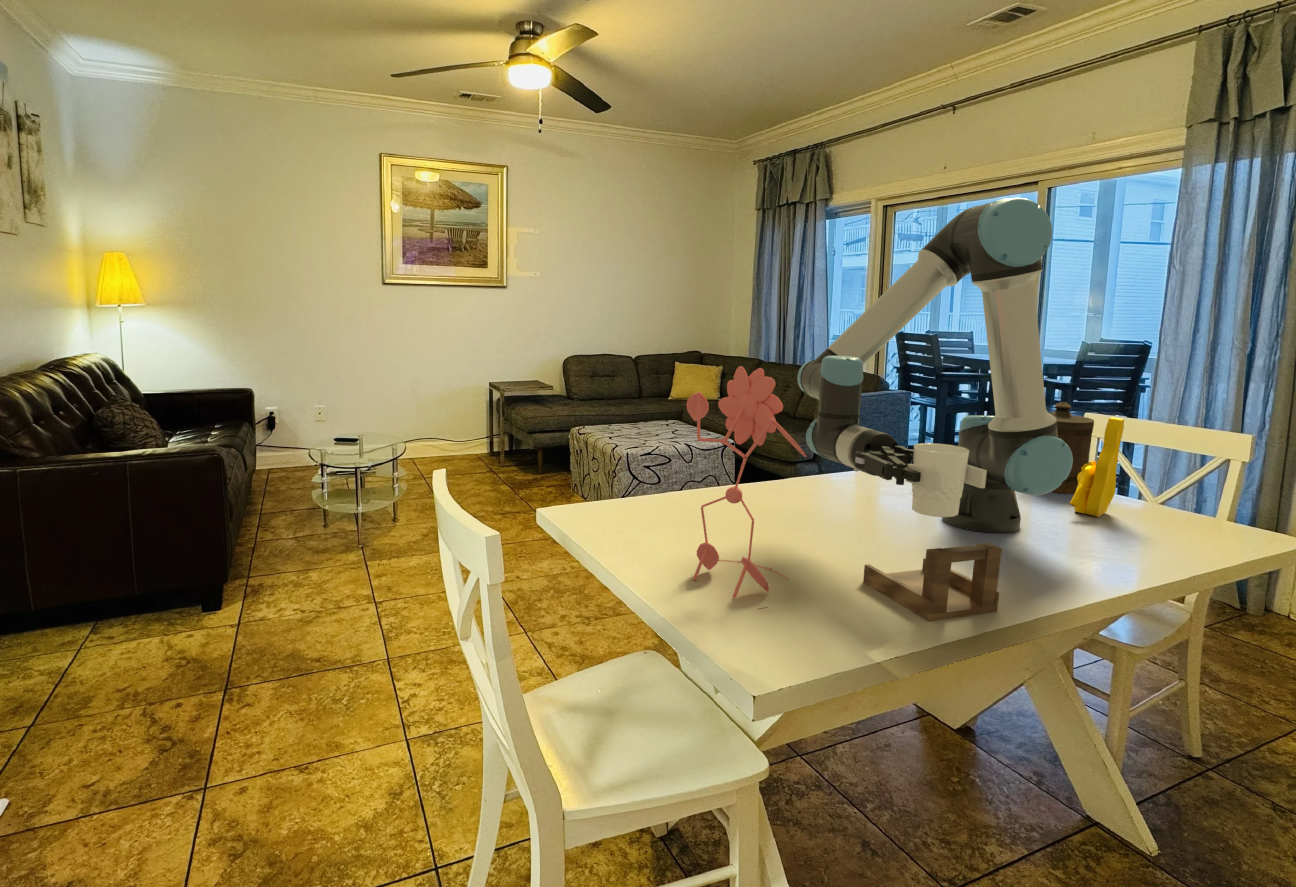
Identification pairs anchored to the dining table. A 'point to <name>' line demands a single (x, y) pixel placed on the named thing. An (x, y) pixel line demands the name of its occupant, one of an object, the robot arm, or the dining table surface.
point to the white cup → (953, 474)
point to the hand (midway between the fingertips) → (961, 480)
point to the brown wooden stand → (944, 583)
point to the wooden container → (1073, 442)
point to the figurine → (746, 416)
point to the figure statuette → (1100, 474)
